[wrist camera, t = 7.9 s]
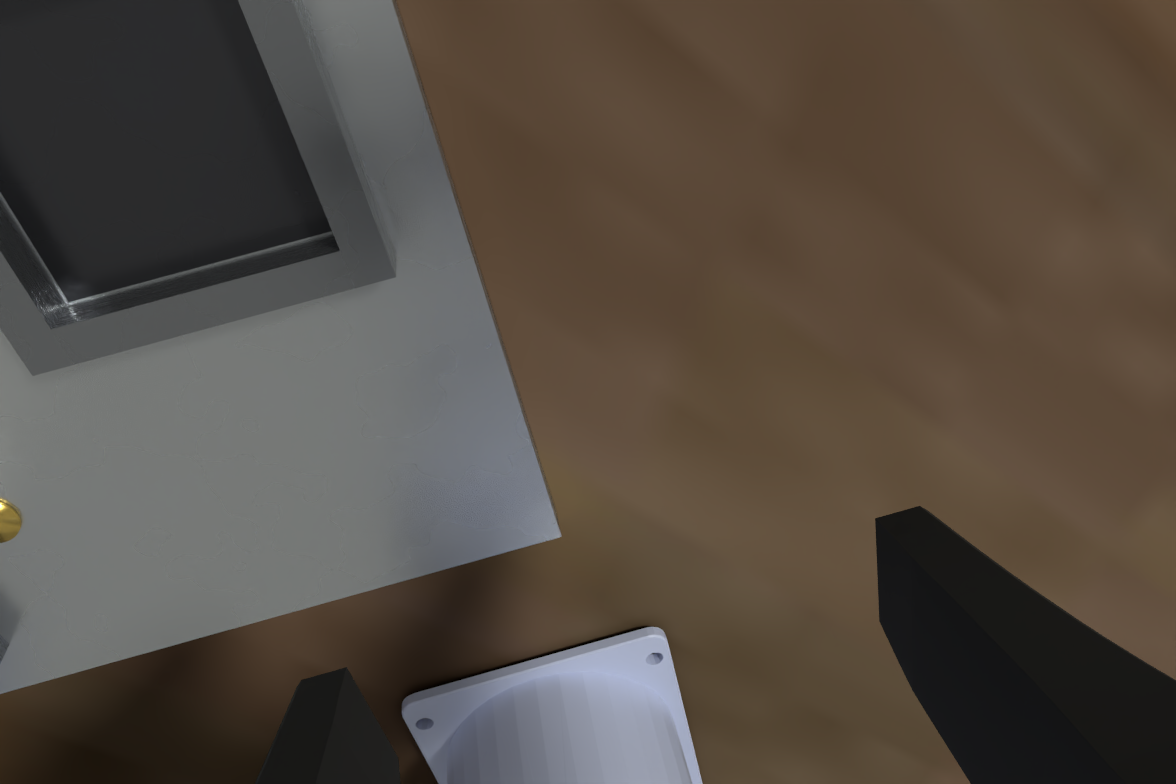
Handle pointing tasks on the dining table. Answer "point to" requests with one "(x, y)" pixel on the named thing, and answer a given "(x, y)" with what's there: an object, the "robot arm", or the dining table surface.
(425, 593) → the dining table surface
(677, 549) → the dining table surface
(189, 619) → the switch plate
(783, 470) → the dining table surface
